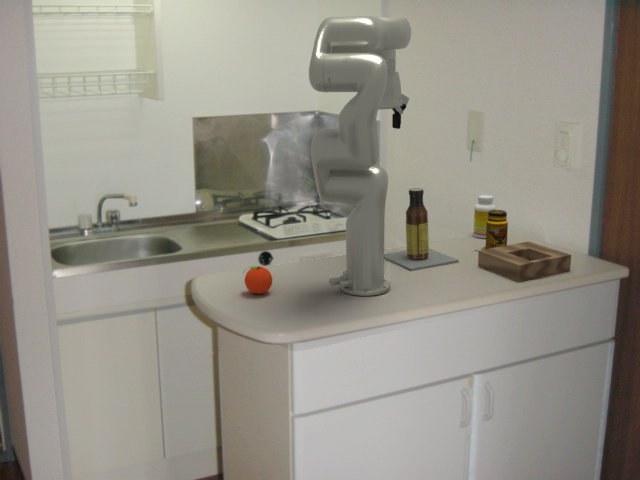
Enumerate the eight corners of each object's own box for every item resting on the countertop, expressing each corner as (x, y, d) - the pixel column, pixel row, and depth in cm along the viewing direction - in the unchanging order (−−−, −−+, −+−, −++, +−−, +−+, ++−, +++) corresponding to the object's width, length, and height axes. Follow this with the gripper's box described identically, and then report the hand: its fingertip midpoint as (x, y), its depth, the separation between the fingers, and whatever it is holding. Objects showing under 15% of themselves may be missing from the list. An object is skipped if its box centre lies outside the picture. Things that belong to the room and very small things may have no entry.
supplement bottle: (495, 239, 232) (497, 198, 229) (473, 238, 233) (474, 198, 230) (494, 234, 239) (496, 194, 235) (473, 233, 240) (474, 194, 236)
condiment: (498, 256, 215) (500, 215, 212) (474, 250, 221) (475, 210, 218) (513, 250, 220) (515, 211, 217) (488, 245, 226) (490, 206, 223)
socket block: (518, 282, 192) (519, 265, 191) (478, 266, 206) (478, 250, 204) (570, 271, 200) (571, 254, 199) (528, 256, 214) (528, 241, 212)
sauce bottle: (428, 254, 216) (429, 186, 210) (429, 260, 210) (430, 191, 204) (405, 254, 216) (405, 186, 211) (405, 260, 210) (406, 191, 205)
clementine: (236, 295, 187) (235, 268, 185) (250, 287, 193) (248, 260, 191) (264, 299, 183) (263, 271, 182) (277, 290, 190) (276, 263, 188)
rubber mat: (411, 271, 203) (411, 268, 203) (379, 256, 217) (379, 254, 216) (458, 262, 210) (458, 260, 210) (425, 248, 224) (425, 246, 224)
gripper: (361, 68, 198) (362, 133, 203) (415, 66, 206) (415, 128, 210) (347, 67, 205) (348, 130, 209) (400, 65, 212) (400, 126, 217)
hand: (381, 129), depth 210 cm, fingers open, 9 cm apart
